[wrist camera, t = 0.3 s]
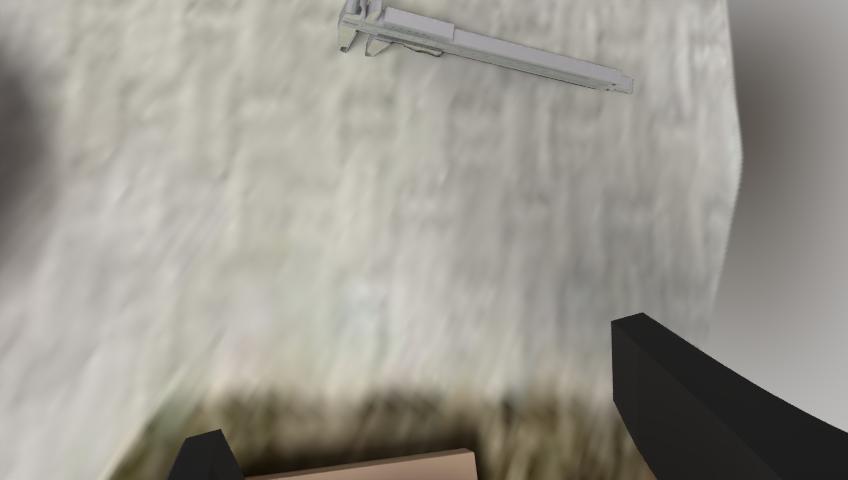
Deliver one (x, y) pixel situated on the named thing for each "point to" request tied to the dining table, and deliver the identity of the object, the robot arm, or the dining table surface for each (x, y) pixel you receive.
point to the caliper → (465, 45)
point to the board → (392, 468)
